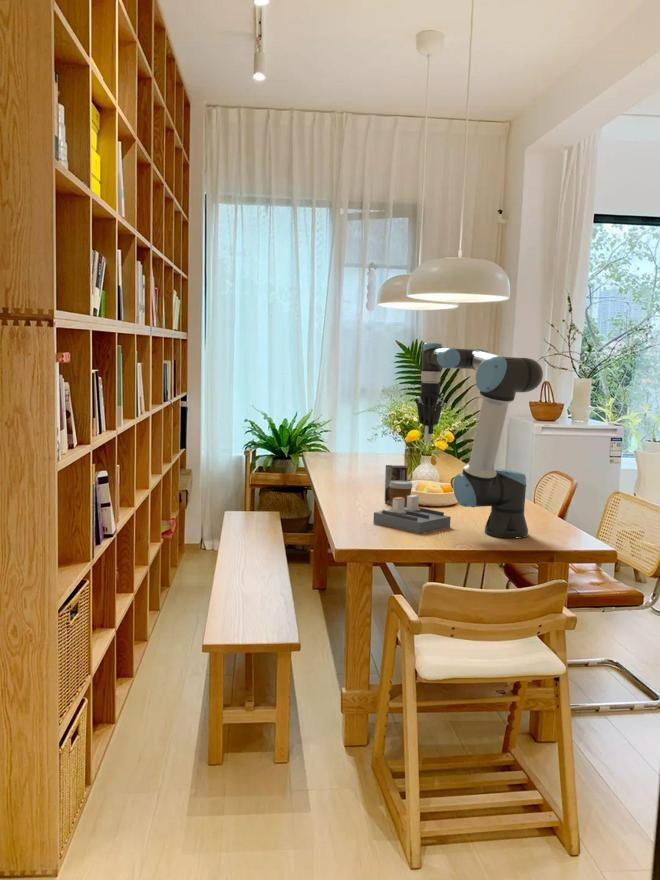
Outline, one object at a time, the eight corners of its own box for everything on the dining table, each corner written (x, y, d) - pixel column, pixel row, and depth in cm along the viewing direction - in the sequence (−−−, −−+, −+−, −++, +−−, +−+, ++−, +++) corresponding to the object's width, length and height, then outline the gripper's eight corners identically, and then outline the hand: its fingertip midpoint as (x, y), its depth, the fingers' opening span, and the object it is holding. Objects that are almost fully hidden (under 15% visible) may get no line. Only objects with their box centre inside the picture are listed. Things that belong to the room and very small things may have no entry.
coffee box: (404, 502, 328) (406, 465, 326) (405, 504, 322) (407, 467, 320) (383, 501, 328) (385, 464, 326) (384, 504, 322) (386, 466, 320)
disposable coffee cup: (391, 513, 302) (393, 483, 300) (385, 508, 311) (386, 480, 310) (414, 513, 304) (416, 484, 302) (407, 508, 313) (409, 480, 312)
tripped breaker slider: (406, 513, 281) (407, 498, 280) (397, 515, 277) (398, 499, 277) (398, 511, 284) (398, 496, 283) (389, 513, 280) (390, 497, 279)
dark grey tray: (450, 527, 280) (451, 501, 279) (419, 533, 267) (420, 506, 266) (404, 517, 295) (405, 492, 294) (373, 522, 283) (374, 496, 282)
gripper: (449, 383, 294) (446, 443, 297) (423, 381, 303) (420, 439, 306) (438, 383, 289) (435, 444, 292) (411, 381, 298) (408, 440, 301)
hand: (427, 442), depth 299 cm, fingers closed
